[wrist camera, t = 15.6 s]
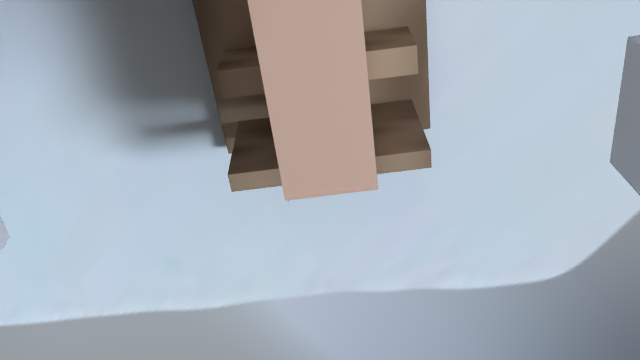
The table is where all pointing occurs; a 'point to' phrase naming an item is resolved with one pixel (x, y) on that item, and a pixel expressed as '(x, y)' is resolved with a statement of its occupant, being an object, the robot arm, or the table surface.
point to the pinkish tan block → (316, 94)
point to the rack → (383, 76)
